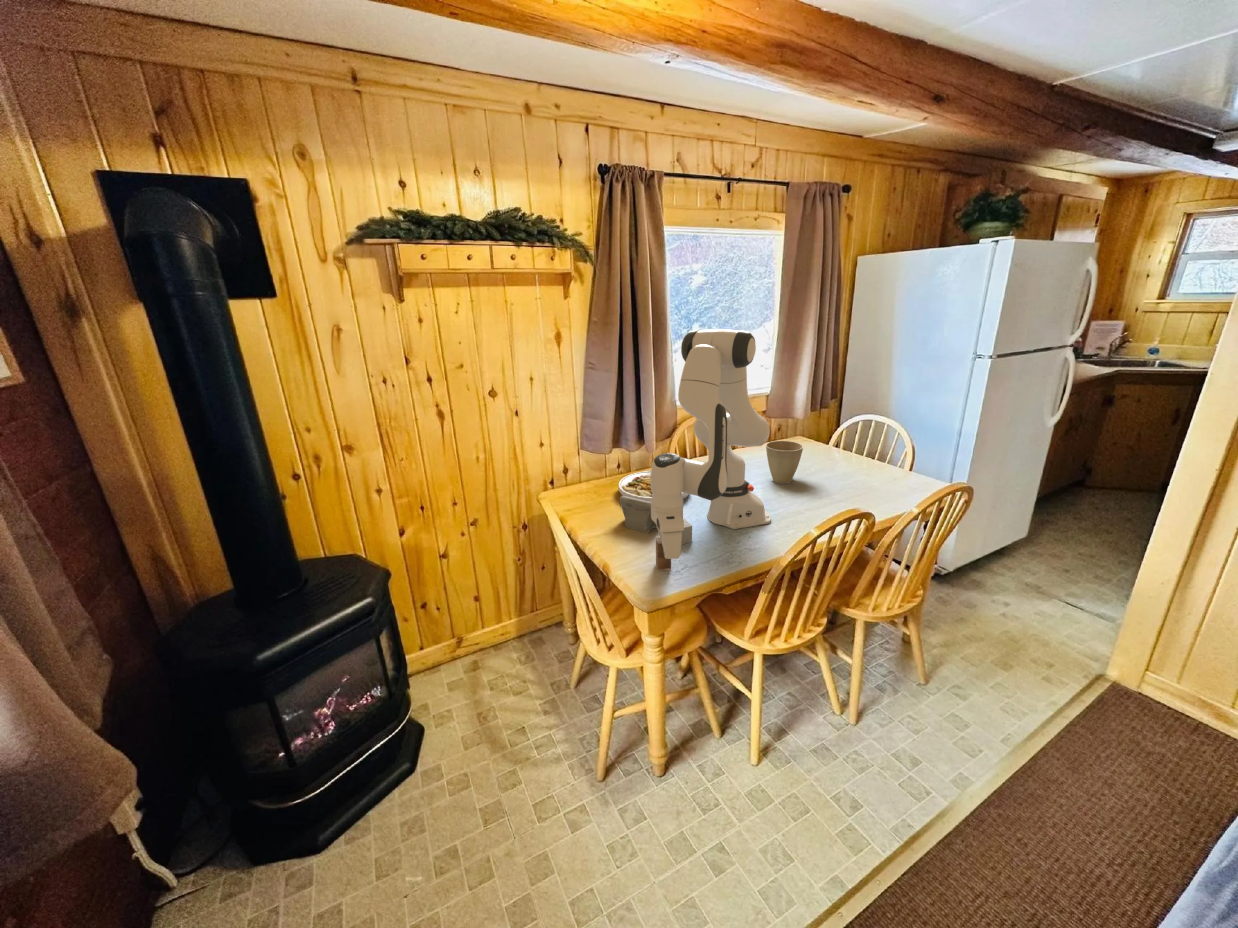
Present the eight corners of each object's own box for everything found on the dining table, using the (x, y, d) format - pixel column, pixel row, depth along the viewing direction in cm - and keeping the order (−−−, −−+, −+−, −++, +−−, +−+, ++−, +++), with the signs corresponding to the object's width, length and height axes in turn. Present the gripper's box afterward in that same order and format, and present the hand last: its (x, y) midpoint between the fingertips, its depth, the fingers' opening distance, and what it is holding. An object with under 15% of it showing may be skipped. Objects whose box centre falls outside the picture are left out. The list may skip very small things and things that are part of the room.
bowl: (689, 511, 181) (689, 492, 178) (612, 507, 187) (611, 489, 184) (693, 482, 209) (693, 465, 206) (626, 479, 215) (625, 463, 212)
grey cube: (683, 534, 164) (684, 518, 162) (691, 542, 158) (692, 525, 156) (668, 537, 162) (668, 521, 160) (675, 545, 157) (675, 529, 155)
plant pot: (795, 474, 212) (798, 440, 207) (803, 487, 198) (807, 450, 193) (760, 474, 214) (763, 440, 208) (767, 487, 200) (769, 451, 195)
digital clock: (666, 528, 168) (666, 500, 165) (649, 537, 162) (649, 509, 159) (632, 515, 179) (632, 489, 176) (616, 523, 173) (614, 496, 170)
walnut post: (668, 562, 147) (668, 536, 144) (671, 569, 143) (671, 543, 140) (656, 563, 147) (655, 537, 144) (657, 570, 143) (657, 543, 140)
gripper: (650, 497, 141) (651, 539, 145) (661, 529, 121) (661, 576, 126) (671, 496, 141) (671, 537, 146) (685, 528, 122) (684, 574, 126)
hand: (667, 556), depth 136 cm, fingers closed
